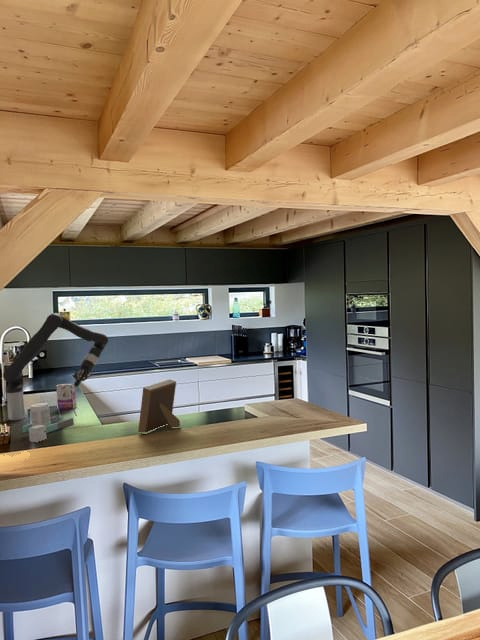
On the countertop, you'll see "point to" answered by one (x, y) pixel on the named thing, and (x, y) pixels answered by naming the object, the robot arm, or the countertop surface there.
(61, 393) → the candy bar box
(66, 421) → the chute
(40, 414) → the supplement tub
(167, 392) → the photo frame
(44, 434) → the skincare box
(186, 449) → the countertop surface
